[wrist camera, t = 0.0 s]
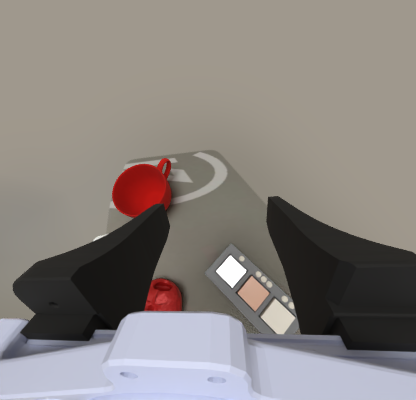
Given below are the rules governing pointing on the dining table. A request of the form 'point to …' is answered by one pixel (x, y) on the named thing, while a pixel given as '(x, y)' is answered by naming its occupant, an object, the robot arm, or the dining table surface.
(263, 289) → the button three dot
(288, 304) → the button panel
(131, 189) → the ceramic cup
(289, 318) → the button two dot
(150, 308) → the red hollow rounded sculpture
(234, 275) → the button one dot
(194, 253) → the dining table surface
